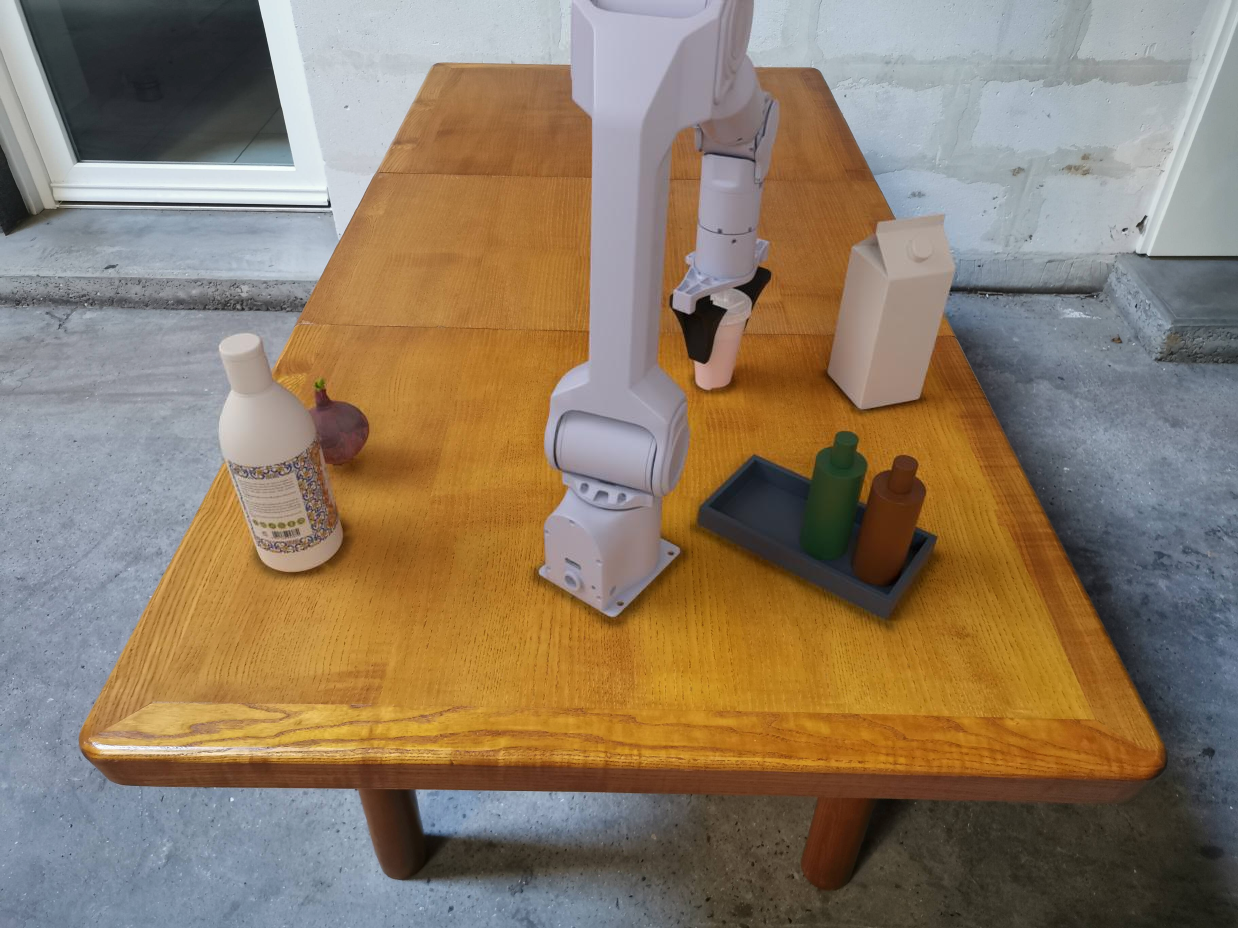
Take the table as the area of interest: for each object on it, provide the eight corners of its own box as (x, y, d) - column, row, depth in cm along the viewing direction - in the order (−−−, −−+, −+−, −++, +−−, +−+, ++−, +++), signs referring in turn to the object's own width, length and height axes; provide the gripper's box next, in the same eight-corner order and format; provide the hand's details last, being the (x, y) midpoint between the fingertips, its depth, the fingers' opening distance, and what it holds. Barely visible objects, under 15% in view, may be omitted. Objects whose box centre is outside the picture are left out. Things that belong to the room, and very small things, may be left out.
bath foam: (354, 556, 73) (302, 353, 61) (269, 586, 71) (196, 380, 58) (332, 507, 78) (279, 309, 65) (251, 533, 75) (179, 332, 63)
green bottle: (834, 567, 72) (859, 460, 65) (791, 546, 74) (811, 440, 67) (855, 540, 75) (882, 434, 68) (813, 520, 77) (835, 415, 70)
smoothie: (745, 399, 92) (760, 277, 83) (683, 397, 92) (692, 276, 83) (740, 365, 97) (754, 247, 88) (681, 363, 97) (689, 245, 88)
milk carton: (826, 374, 95) (858, 207, 83) (884, 364, 97) (924, 199, 85) (859, 411, 90) (898, 239, 78) (919, 400, 92) (967, 229, 80)
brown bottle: (888, 594, 70) (921, 486, 63) (842, 571, 72) (869, 464, 65) (908, 565, 73) (942, 459, 65) (864, 544, 75) (892, 438, 67)
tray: (885, 624, 69) (892, 602, 67) (696, 527, 77) (698, 506, 75) (931, 557, 74) (938, 536, 73) (750, 474, 82) (753, 453, 81)
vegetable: (295, 480, 81) (269, 390, 75) (327, 440, 86) (304, 352, 79) (356, 490, 80) (335, 400, 74) (385, 449, 85) (367, 361, 78)
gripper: (732, 187, 89) (720, 306, 98) (648, 236, 80) (644, 362, 89) (794, 205, 86) (776, 326, 94) (713, 259, 77) (702, 387, 86)
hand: (716, 345), depth 91 cm, fingers closed on smoothie, 6 cm apart
